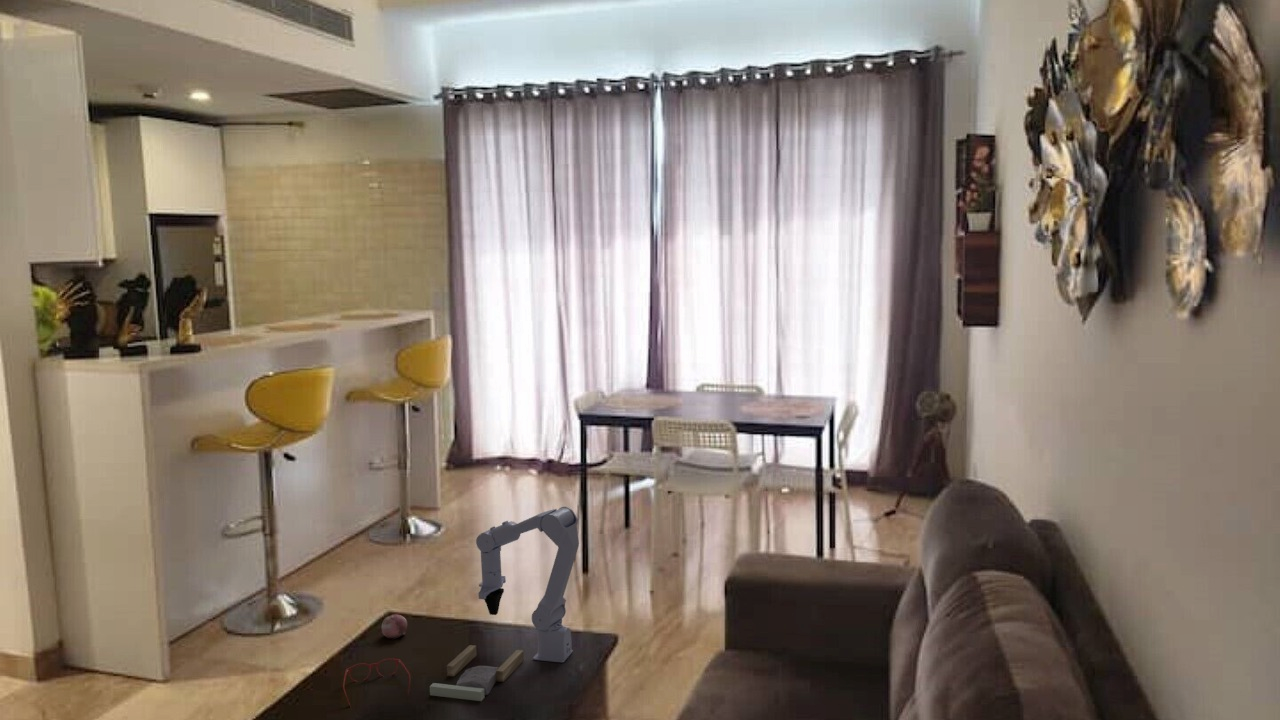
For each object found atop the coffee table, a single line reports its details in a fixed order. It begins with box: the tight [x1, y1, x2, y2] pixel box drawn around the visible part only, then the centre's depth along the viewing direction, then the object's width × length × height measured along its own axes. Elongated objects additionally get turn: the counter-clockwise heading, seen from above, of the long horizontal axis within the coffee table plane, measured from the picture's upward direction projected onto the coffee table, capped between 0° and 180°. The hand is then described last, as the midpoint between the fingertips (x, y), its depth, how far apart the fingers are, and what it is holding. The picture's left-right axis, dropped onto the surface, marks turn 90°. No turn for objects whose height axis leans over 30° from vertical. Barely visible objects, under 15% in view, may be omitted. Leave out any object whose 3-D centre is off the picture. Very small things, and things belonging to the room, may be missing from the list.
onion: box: [380, 614, 408, 641], centre depth 287 cm, size 8×8×7 cm
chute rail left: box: [446, 644, 478, 677], centre depth 265 cm, size 2×14×3 cm, turn 164°
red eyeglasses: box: [342, 658, 411, 708], centre depth 252 cm, size 17×16×5 cm
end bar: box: [429, 682, 486, 702], centre depth 246 cm, size 15×2×2 cm, turn 74°
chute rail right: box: [496, 649, 525, 683], centre depth 261 cm, size 2×14×3 cm, turn 164°
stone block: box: [455, 665, 499, 696], centre depth 252 cm, size 12×5×10 cm
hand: (493, 613), depth 277 cm, fingers closed
